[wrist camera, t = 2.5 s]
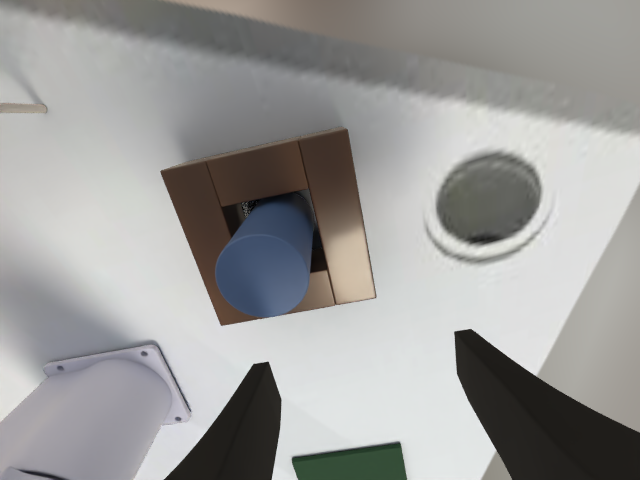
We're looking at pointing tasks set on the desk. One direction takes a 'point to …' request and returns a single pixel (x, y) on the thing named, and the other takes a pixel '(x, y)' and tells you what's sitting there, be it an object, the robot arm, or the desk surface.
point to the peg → (268, 257)
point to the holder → (270, 180)
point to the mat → (353, 465)
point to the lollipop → (22, 108)
